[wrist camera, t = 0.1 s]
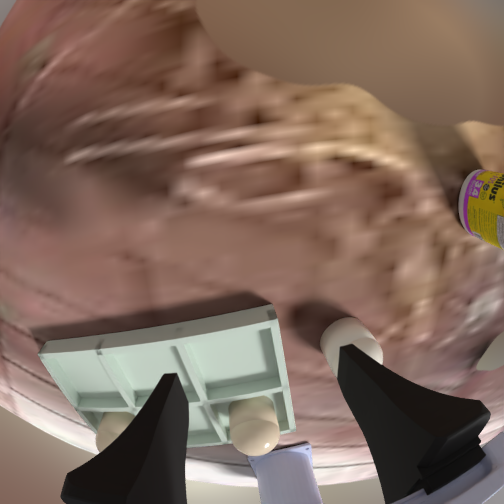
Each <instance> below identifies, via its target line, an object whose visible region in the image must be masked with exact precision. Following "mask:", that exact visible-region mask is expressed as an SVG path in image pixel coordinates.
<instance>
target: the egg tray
mask: <svg viewBox="0 0 504 504" xmlns="http://www.w3.org/2000/svg"><path fill="white" fill-rule="evenodd" d="M38 356H39V357H40V359H41V361H42V362H43V364H44V365H45V367H46V369H47V370H48V372H49V373H50V375H51V376H52V378H53V379H54V381H55V382H56V384H57V385H58V387H59V388H60V390H61V391H62V392H63V394H64V395H65V396H66V398H67V399H68V401H69V402H70V403H71V405H72V406H73V407H74V408H75V410H76V411H77V412H78V414H79V415H80V416H81V417H82V419H83V420H84V421H85V422H86V423H87V425H88V426H89V427H90V428H91V429H92V430H93V432H94V433H95V434H97V431H98V428H99V425H100V422H101V419H102V416H103V413H104V412H129V413H131V414H133V415H134V416H136V415H137V414H138V412H139V411H140V410H141V408H142V407H143V405H144V404H145V402H146V401H147V399H148V398H149V396H150V395H151V393H152V392H153V390H154V388H155V387H156V385H157V384H158V382H159V380H160V379H161V377H162V375H163V374H164V373H177V374H178V376H179V379H180V382H181V384H182V387H183V389H184V392H185V394H186V397H187V399H188V402H189V429H188V439H187V448H194V447H205V446H215V445H223V444H231V443H232V441H231V438H230V427H229V413H228V407H229V405H230V403H231V402H232V401H237V400H242V399H248V398H253V397H258V396H263V395H264V396H267V397H268V398H270V399H271V400H272V401H273V404H274V408H275V412H276V416H277V421H278V425H279V429H280V435H281V434H285V433H290V432H294V431H296V427H295V420H294V414H293V408H292V401H291V395H290V389H289V383H288V377H287V371H286V365H285V359H284V353H283V347H282V341H281V335H280V329H279V323H278V318H277V315H276V312H275V310H274V307H273V304H270V305H265V306H261V307H256V308H251V309H247V310H242V311H237V312H232V313H227V314H223V315H217V316H212V317H207V318H202V319H197V320H191V321H186V322H180V323H174V324H169V325H163V326H157V327H151V328H144V329H138V330H131V331H124V332H118V333H110V334H103V335H95V336H87V337H79V338H70V339H61V340H51V341H47V342H46V343H45V344H44V346H43V347H42V349H41V350H40V351H39V353H38Z"/></svg>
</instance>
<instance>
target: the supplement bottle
mask: <svg viewBox="0 0 504 504" xmlns="http://www.w3.org/2000/svg"><path fill="white" fill-rule="evenodd" d="M458 208H459V216H460V220H461V223H462V225H463V227H464V229H465V230H466V231H467V232H468V233H469V234H471V235H473V236H475V237H477V238H479V239H481V240H483V241H486V242H488V243H490V244H492V245H494V246H496V247H498V248H501V249H503V250H504V174H503V173H498V172H493V171H488V170H481V169H479V170H475V171H473V172H471V173H470V174H469V175H468V176H467V178H466V179H465V181H464V183H463V185H462V187H461V191H460V195H459V206H458Z"/></svg>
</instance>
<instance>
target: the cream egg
mask: <svg viewBox="0 0 504 504" xmlns="http://www.w3.org/2000/svg"><path fill="white" fill-rule="evenodd" d="M349 344H353V345H355V346H356V347H358V348H359V349H360V350H362V351H363V352H364V353H366V354H367V355H369V356H370V357H371V358H373V359H374V360H376V361H377V362H378V363H380V364H381V365H382V363H383V352H382V349H381V346H380V345H379V343H378V342H377V341H376V339H375V338H374V337H373V335H372V334H371V333H370V332H369V330H368V329H367V328H366V327H365V325H364V324H363V323H362V322H361V321H360V320H359V319H357V318H353V317H346V318H342V319H339V320H337V321H335V322H334V323H332V324H331V325H330V326H329V327H328V328H327V329H326V330H325V331H324V333H323V334H322V336H321V339H320V348H321V350H322V352H323V354H324V356H325V358H326V360H327V362H328V364H329V366H330V368H331V370H332V372H333V374H334V375H335V377H336V378H337V373H338V362H339V350H340V347H341V346H345V345H349Z"/></svg>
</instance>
